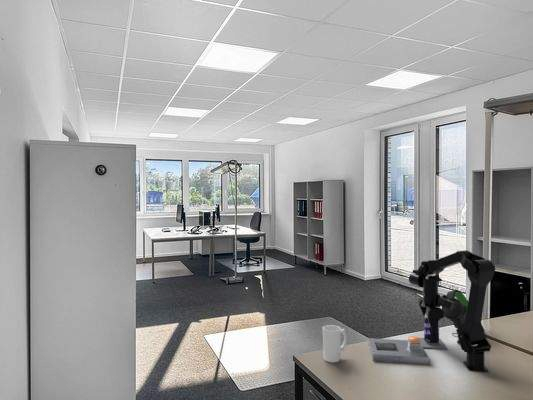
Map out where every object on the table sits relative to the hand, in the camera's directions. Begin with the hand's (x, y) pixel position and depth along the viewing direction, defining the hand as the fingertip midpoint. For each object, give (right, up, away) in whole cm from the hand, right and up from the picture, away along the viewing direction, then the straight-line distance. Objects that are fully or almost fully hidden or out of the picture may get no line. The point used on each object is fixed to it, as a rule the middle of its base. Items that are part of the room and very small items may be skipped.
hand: (430, 327), depth 157 cm
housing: (-17, -7, -9) cm, 21 cm away
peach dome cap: (-11, -3, -10) cm, 15 cm away
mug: (-42, -8, -13) cm, 45 cm away
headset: (+20, -7, +10) cm, 23 cm away
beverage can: (0, -7, 0) cm, 7 cm away
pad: (0, -7, 0) cm, 7 cm away
